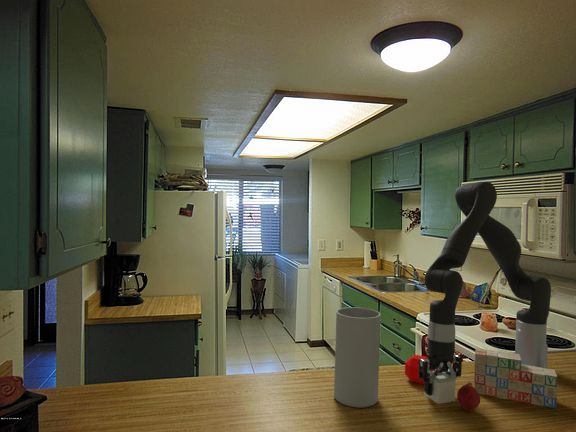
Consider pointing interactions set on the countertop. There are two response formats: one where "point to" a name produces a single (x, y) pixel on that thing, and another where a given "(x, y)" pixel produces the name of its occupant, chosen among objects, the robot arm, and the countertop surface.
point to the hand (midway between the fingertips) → (439, 392)
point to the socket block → (443, 388)
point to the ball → (414, 368)
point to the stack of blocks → (514, 378)
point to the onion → (468, 397)
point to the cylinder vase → (357, 356)
